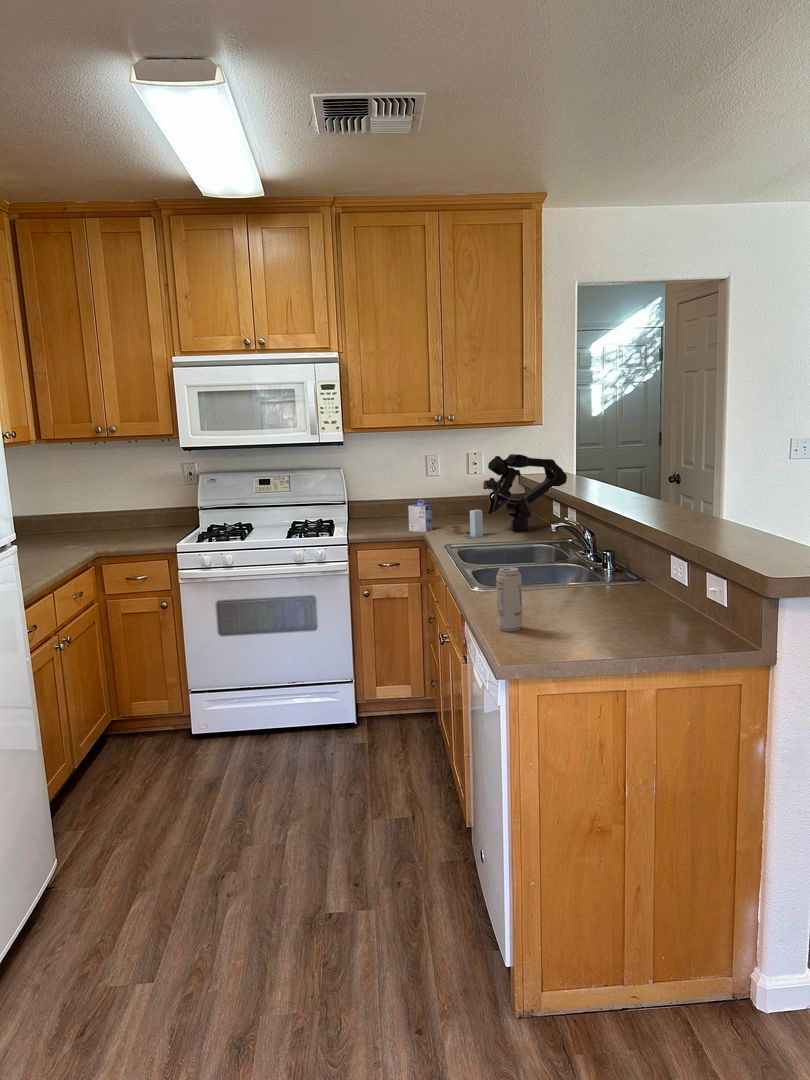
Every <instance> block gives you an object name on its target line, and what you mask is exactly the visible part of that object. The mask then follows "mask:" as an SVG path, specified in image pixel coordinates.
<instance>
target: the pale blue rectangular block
mask: <svg viewBox="0 0 810 1080" xmlns="http://www.w3.org/2000/svg"><path fill="white" fill-rule="evenodd" d="M483 518H484V517H483V509H482V510H481V509H473V510H472V509H471V510H469V526H470V527H469V529H470V534H469V535H471V536H472V537H480V536H483V535H484V521H483V520H484V519H483Z"/></svg>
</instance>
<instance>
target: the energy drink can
mask: <svg viewBox="0 0 810 1080" xmlns="http://www.w3.org/2000/svg"><path fill="white" fill-rule="evenodd" d="M495 579H496V605H497V608H496V609H497V610H496V611H497V626H498V627H499V630H500V631H503V632H517V631H519V630H521V627H523V597H522V596H523V595H522V594H523V593H522V591H523V590H522V589H523V588H522V575H521V573H520V571H519V568H518V567H515V566H507V567H506V566H505V567H500V568H498V572H497V574H496V577H495Z"/></svg>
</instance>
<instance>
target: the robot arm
mask: <svg viewBox="0 0 810 1080" xmlns="http://www.w3.org/2000/svg"><path fill="white" fill-rule="evenodd" d="M526 467H536V468H543V469H544V470H543V471H544V474H545V477H544V478H545V479H544V480H543V481H541V483H539V484H538V485H536V486H535V487H533V488H532V489H531V490H529V491H528V492H526V493H525V494H524V495H513V496H512V492H511V491H510V490H511V488H512V487H513V486H514V485H513V484H514V481H515V479H516V477H521V476H522V473H521V472H520V469H521V468H526ZM487 468H488V470H489V471H491V472H492V473H494V474H495V475H497V476H499V477H500V479H498V480H497V481H496V480H495V478H494V477H490V478H489V479H486V480H484V481H483V486H482V489H483V490H492V492H489V494H488V495H487V499H488V501H489V506H488V511H487V514H488V515H492V514H493V513H495V512H497V511H498V510H499V509H500V508H502V507H503V505H504V504H505V503H506V512H508V516H509V517H511V520H510V531H511V532H512V531H513V533H514V532H515V533H519V532H521V533H522V532H529V531H530V529H529V526H528V525H529V523H528V522H529V520H528V518H530V517H531V515H532V512H531V511H530V510H529V507H530V505H531V504H532V503H533V502H535V501H536V500H538V499H539V498H540V497H542V496H544V494H546V493H548V491H550V490H549V488H550V487H552V486H558V487H560V486H562V485H565V484H566V483H567V481H568V480H567V479H568V476H567V474H566V472H565V471H564V470H563V469H562V467H560V466H559V465H558V464H557V463H556V461H555V460H554V459H552V458H535V457H534V458H533V457H528V456H526V455H523V454H518V453H516V454H515V453H511V454H508V456H507V458H505V459H503V458H502V457H501V456H500V455H495V456H494V458H492V459H491V460H490V461H489V462H488V465H487ZM515 468H516V469H515ZM517 468H519V469H517ZM511 497H512V498H511Z"/></svg>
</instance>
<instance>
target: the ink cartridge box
mask: <svg viewBox="0 0 810 1080" xmlns="http://www.w3.org/2000/svg"><path fill="white" fill-rule="evenodd" d="M408 531H409V532H421V533H422V532H423V533H428V532H432V531H434V530H433V509H432V504H425V499H418V500H417V502H416V504H410V505H408Z"/></svg>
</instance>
